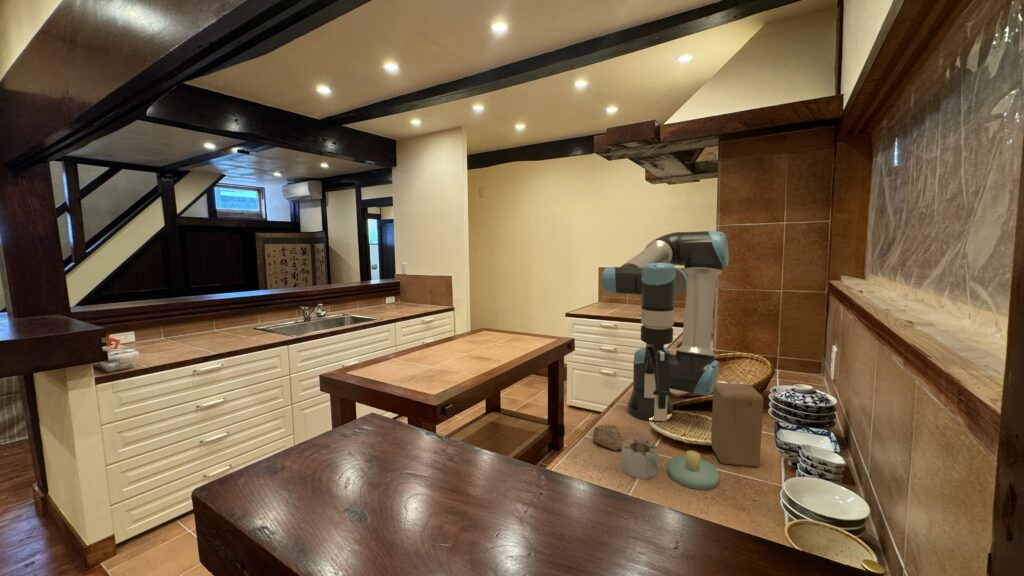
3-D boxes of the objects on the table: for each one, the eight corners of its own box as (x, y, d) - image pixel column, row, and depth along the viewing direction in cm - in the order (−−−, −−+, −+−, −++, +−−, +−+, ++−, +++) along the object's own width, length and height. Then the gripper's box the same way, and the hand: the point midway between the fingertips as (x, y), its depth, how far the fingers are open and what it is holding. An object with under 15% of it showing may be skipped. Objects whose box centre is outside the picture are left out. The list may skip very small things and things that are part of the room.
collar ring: (624, 457, 112) (624, 437, 111) (657, 463, 108) (658, 442, 108) (620, 474, 104) (620, 452, 103) (655, 481, 100) (656, 459, 99)
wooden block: (760, 468, 105) (765, 396, 103) (720, 465, 107) (723, 394, 105) (746, 449, 115) (750, 383, 113) (709, 446, 117) (712, 381, 115)
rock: (588, 438, 123) (601, 448, 113) (591, 419, 124) (605, 428, 114) (613, 442, 125) (629, 453, 115) (616, 423, 125) (632, 432, 116)
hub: (668, 459, 110) (668, 438, 110) (716, 468, 106) (717, 446, 105) (666, 483, 100) (667, 460, 99) (720, 494, 95) (721, 470, 94)
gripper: (633, 315, 110) (632, 388, 113) (650, 338, 86) (648, 430, 88) (661, 316, 109) (659, 390, 112) (687, 338, 85) (683, 432, 87)
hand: (654, 408), depth 100 cm, fingers open, 13 cm apart
